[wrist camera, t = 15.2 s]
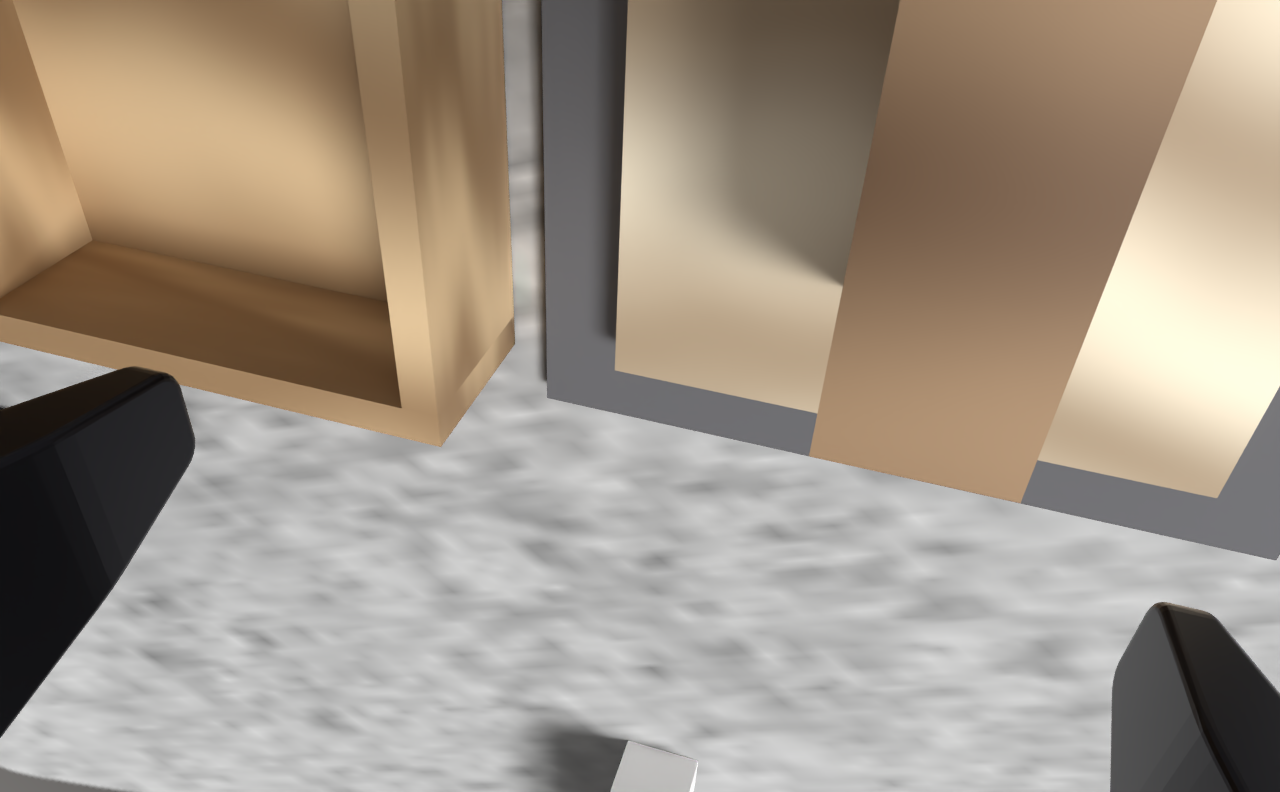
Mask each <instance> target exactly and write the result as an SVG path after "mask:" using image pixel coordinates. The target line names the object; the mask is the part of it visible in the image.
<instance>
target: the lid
mask: <svg viewBox="0 0 1280 792" xmlns="http://www.w3.org/2000/svg"><path fill="white" fill-rule="evenodd" d="M615 370H616V371H620V372H625V373H630V374H634V375H639V376H644V377H649V378H653V379H658V380H663V381H667V382H672V383H677V384H681V385H686V386H691V387H696V388H700V389H705V390H710V391H714V392H719V393H724V394H729V395H733V396H738V397H743V398H747V399H752V400H757V401H761V402H766V403H771V404H776V405H780V406H785V407H790V408H794V409H799V410H804V411H809V412H813V413H817V418H816V423H815V428H814V433H813V438H812V443H811V448H810V453H809V456H810V457H815V458H819V459H824V460H828V461H833V462H837V463H842V464H846V465H851V466H855V467H860V468H864V469H869V470H873V471H878V472H882V473H887V474H891V475H896V476H900V477H905V478H909V479H914V480H918V481H923V482H927V483H932V484H936V485H941V486H945V487H950V488H954V489H959V490H963V491H968V492H972V493H977V494H981V495H986V496H990V497H995V498H999V499H1004V500H1008V501H1013V502H1018V503H1021V501H1022V498H1023V495H1024V493H1025V490H1026V488H1027V485H1028V483H1029V480H1030V478H1031V475H1032V472H1033V470H1034V467H1035V465H1036V462H1037V460H1039V461H1044V462H1049V463H1053V464H1058V465H1063V466H1067V467H1072V468H1077V469H1081V470H1086V471H1091V472H1096V473H1100V474H1105V475H1110V476H1114V477H1119V478H1124V479H1129V480H1133V481H1138V482H1143V483H1147V484H1152V485H1157V486H1161V487H1166V488H1171V489H1176V490H1180V491H1185V492H1190V493H1194V494H1199V495H1204V496H1209V497H1213V498H1218V496H1219V494H1220V492H1221V490H1222V489H1223V487H1224V485H1225V483H1226V481H1227V480H1228V478H1229V476H1230V474H1231V472H1232V471H1233V469H1234V467H1235V465H1236V464H1237V462H1238V460H1239V458H1240V456H1241V455H1242V453H1243V451H1244V449H1245V447H1246V446H1247V444H1248V442H1249V440H1250V439H1251V437H1252V435H1253V433H1254V431H1255V430H1256V428H1257V426H1258V424H1259V422H1260V421H1261V419H1262V417H1263V415H1264V413H1265V412H1266V410H1267V408H1268V406H1269V405H1270V403H1271V401H1272V399H1273V397H1274V396H1275V394H1276V392H1277V390H1278V388H1279V387H1280V0H628V15H627V43H626V71H625V99H624V127H623V155H622V183H621V211H620V239H619V267H618V295H617V323H616V351H615Z"/></svg>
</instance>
